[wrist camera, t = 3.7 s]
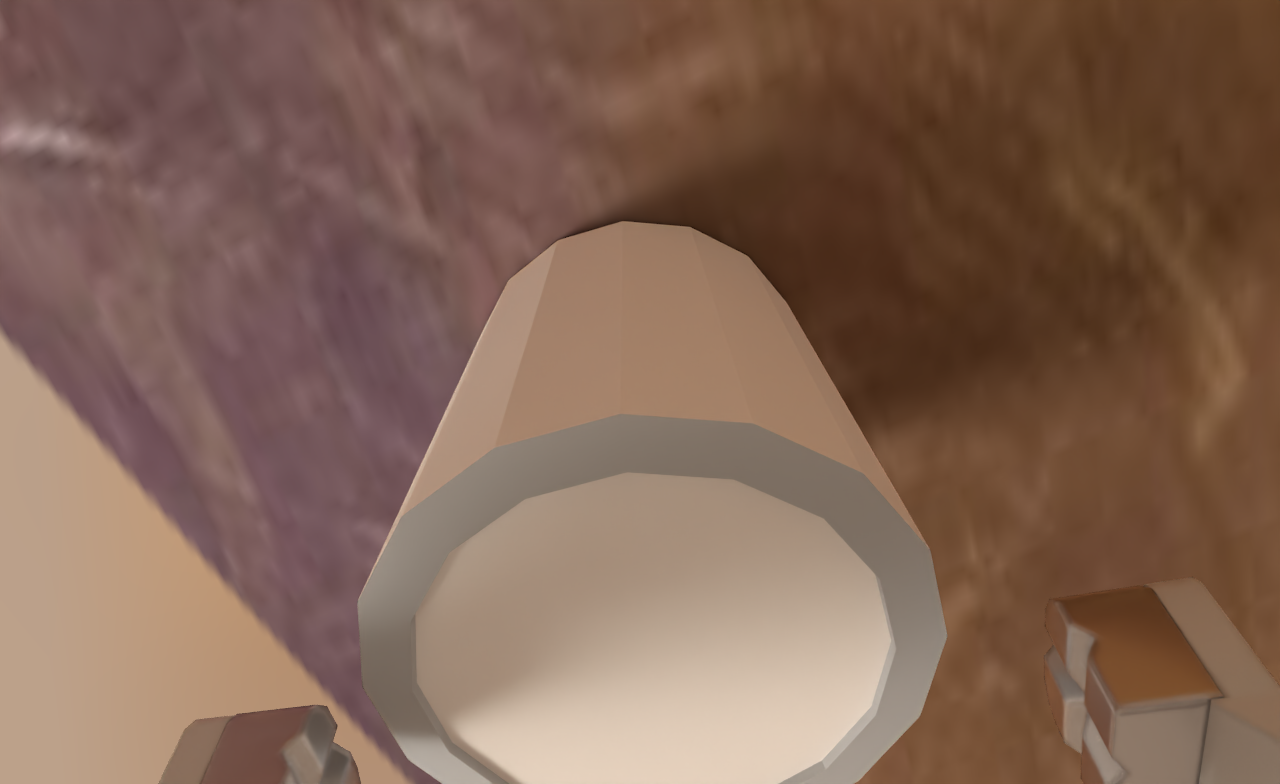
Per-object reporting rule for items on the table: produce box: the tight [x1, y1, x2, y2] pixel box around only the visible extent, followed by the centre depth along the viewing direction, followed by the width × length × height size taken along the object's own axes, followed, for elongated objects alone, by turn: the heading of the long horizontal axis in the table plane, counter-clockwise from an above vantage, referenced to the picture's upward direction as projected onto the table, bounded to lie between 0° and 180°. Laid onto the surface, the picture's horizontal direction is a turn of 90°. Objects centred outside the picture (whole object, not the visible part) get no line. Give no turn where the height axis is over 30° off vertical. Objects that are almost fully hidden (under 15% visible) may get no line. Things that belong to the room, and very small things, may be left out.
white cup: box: [358, 221, 947, 784], centre depth 15 cm, size 7×7×7 cm
